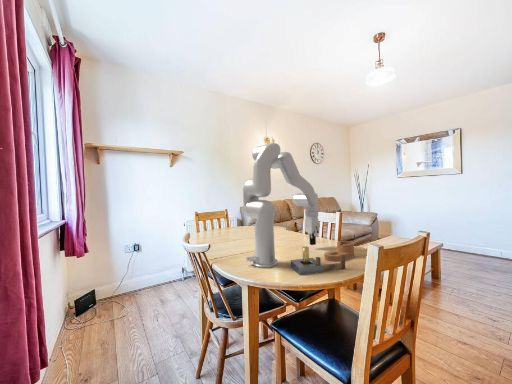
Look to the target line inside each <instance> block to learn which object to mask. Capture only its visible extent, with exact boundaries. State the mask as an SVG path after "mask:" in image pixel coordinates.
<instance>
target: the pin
mask: <svg viewBox="0 0 512 384" xmlns="http://www.w3.org/2000/svg"><path fill="white" fill-rule="evenodd" d="M301 249H302V259H303V265H306V264H309V258H310V248H309V246H302V248H301Z"/></svg>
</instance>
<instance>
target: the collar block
mask: <svg viewBox="0 0 512 384" xmlns="http://www.w3.org/2000/svg"><path fill="white" fill-rule="evenodd" d="M323 265H324V264H322V263H321V265H316V258H313V257H309V264H306V265H303V258H298V259H290V268H291V269H292V270H294V272H296V273H297V274H298V275H299V276H301V275H309V274H310V275H311V274H319V273H324V271H323Z"/></svg>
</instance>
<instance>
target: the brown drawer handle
mask: <svg viewBox="0 0 512 384" xmlns="http://www.w3.org/2000/svg"><path fill="white" fill-rule="evenodd" d="M340 259H341V261H340V262H337V263H336V262H334V263H329V264H322V263H321V257H320V256H316V257H315V260H316V265H321V264H322V265H323V272H327V271H329V272H330V271H335V270H346V268H347V267H346V259H345V255H343V254H342V255H340Z"/></svg>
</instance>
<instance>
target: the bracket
mask: <svg viewBox="0 0 512 384" xmlns="http://www.w3.org/2000/svg"><path fill="white" fill-rule="evenodd" d="M342 254H343V255H345V260H347V259H351V258H354V257H355V243H354V241H348V240H340V241H339V240H338V241H336V249H334V250H330V251H326V252H324V260H325V261H328V262H334V263H336V262H337V263H338V262H341V259H340V255H342Z"/></svg>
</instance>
